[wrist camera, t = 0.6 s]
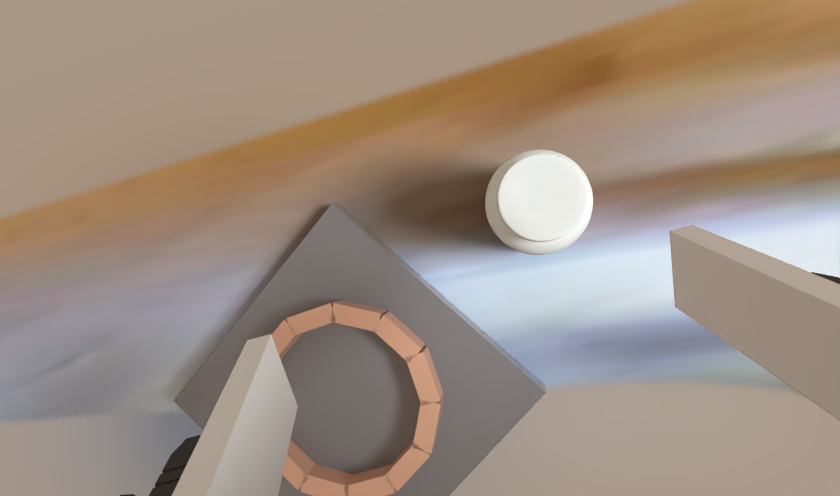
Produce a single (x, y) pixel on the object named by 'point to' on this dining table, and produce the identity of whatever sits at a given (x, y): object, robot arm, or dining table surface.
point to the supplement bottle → (538, 202)
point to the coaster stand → (372, 371)
